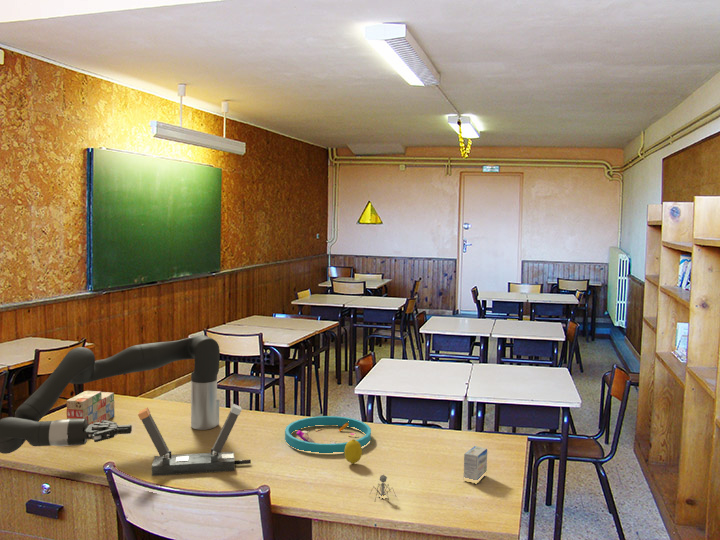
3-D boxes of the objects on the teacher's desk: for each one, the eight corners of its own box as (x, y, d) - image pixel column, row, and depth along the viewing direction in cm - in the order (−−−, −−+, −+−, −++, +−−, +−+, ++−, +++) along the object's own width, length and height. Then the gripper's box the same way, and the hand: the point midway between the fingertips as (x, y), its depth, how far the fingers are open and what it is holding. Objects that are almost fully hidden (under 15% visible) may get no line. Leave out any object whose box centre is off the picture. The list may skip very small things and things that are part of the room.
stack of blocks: (99, 415, 240) (99, 383, 239) (114, 416, 240) (114, 384, 239) (66, 434, 219) (66, 399, 218) (83, 435, 218) (83, 400, 217)
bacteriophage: (364, 499, 174) (364, 476, 173) (380, 489, 180) (380, 467, 180) (385, 506, 170) (385, 482, 169) (400, 496, 176) (401, 473, 176)
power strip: (151, 476, 186) (151, 460, 185) (154, 465, 193) (154, 450, 193) (251, 469, 192) (251, 454, 192) (250, 459, 200) (250, 445, 199)
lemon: (363, 462, 200) (364, 437, 199) (358, 468, 195) (358, 443, 194) (347, 459, 202) (348, 435, 201) (341, 466, 196) (342, 441, 196)
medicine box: (477, 485, 184) (478, 456, 184) (462, 481, 187) (464, 453, 186) (486, 476, 191) (487, 448, 190) (473, 472, 193) (474, 445, 193)
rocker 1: (163, 464, 188) (137, 415, 185) (164, 458, 192) (139, 410, 189) (171, 459, 188) (146, 411, 185) (172, 454, 192) (148, 406, 190)
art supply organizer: (267, 439, 219) (267, 423, 219) (328, 420, 241) (329, 405, 241) (327, 464, 199) (327, 445, 198) (388, 440, 221) (388, 424, 220)
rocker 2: (209, 457, 191) (233, 407, 191) (209, 452, 195) (233, 403, 195) (217, 460, 191) (241, 410, 192) (217, 455, 196) (241, 406, 196)
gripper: (74, 436, 190) (134, 433, 194) (63, 453, 177) (128, 449, 181) (73, 412, 189) (134, 409, 193) (62, 427, 176) (128, 424, 180)
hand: (131, 429), depth 187 cm, fingers closed
